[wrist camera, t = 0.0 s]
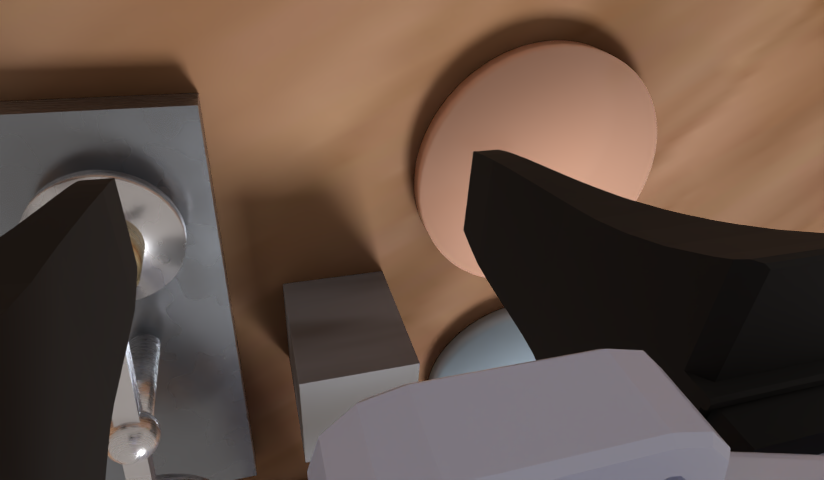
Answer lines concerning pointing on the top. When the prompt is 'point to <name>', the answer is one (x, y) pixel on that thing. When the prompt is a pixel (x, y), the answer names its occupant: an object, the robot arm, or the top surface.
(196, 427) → the balance
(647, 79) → the top surface
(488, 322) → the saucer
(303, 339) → the block
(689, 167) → the top surface
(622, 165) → the dish
